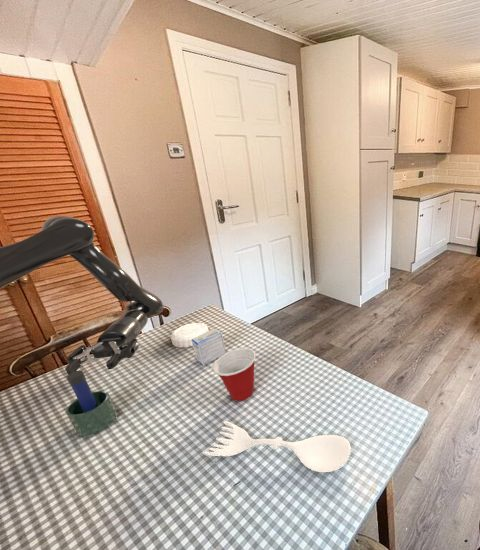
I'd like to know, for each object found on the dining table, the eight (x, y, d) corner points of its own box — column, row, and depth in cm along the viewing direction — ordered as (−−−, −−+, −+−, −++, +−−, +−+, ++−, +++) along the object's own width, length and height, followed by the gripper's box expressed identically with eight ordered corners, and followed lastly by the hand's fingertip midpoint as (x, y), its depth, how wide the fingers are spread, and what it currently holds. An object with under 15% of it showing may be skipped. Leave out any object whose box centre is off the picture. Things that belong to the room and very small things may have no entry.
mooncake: (194, 326, 118) (192, 319, 117) (216, 333, 114) (214, 325, 113) (164, 343, 108) (162, 334, 107) (188, 351, 104) (185, 342, 102)
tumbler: (68, 440, 72) (57, 418, 69) (88, 414, 79) (79, 394, 76) (107, 433, 73) (97, 412, 71) (123, 409, 81) (115, 388, 78)
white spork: (226, 428, 75) (223, 418, 73) (354, 442, 71) (353, 431, 70) (203, 463, 66) (200, 452, 65) (347, 480, 63) (346, 469, 61)
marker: (87, 428, 74) (63, 379, 69) (93, 418, 77) (71, 371, 71) (100, 425, 75) (78, 377, 69) (106, 416, 77) (85, 369, 72)
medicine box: (219, 349, 105) (214, 327, 102) (226, 353, 102) (222, 332, 99) (196, 361, 99) (190, 338, 96) (203, 366, 96) (197, 343, 93)
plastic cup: (221, 387, 88) (212, 353, 83) (260, 376, 92) (254, 343, 87) (220, 414, 79) (211, 377, 74) (263, 401, 83) (257, 366, 78)
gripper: (88, 326, 87) (48, 361, 72) (144, 320, 90) (117, 352, 75) (97, 348, 89) (60, 386, 75) (151, 341, 93) (126, 376, 78)
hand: (89, 369), depth 75 cm, fingers open, 8 cm apart
